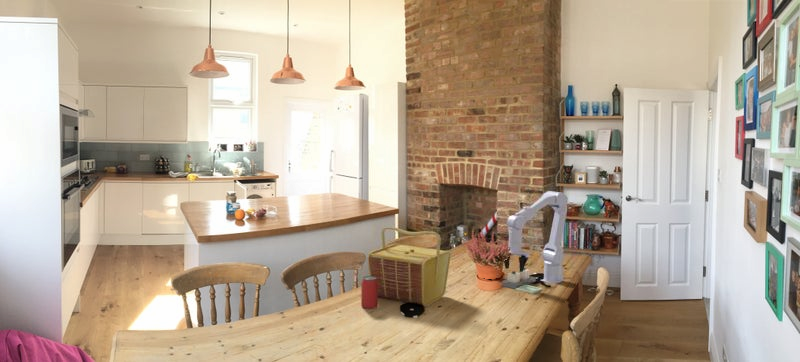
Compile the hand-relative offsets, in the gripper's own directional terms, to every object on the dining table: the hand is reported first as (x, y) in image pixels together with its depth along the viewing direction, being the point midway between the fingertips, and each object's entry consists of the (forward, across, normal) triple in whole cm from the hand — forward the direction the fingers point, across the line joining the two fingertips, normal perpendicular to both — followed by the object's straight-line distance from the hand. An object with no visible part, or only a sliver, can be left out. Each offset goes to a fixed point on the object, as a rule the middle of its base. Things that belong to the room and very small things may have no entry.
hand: (514, 269), depth 245 cm
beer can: (+8, -27, -68) cm, 74 cm away
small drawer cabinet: (+8, 0, +4) cm, 9 cm away
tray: (+8, +8, -1) cm, 12 cm away
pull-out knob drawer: (+8, 0, +9) cm, 12 cm away
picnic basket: (+8, -24, -47) cm, 53 cm away
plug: (+8, 0, 0) cm, 8 cm away
